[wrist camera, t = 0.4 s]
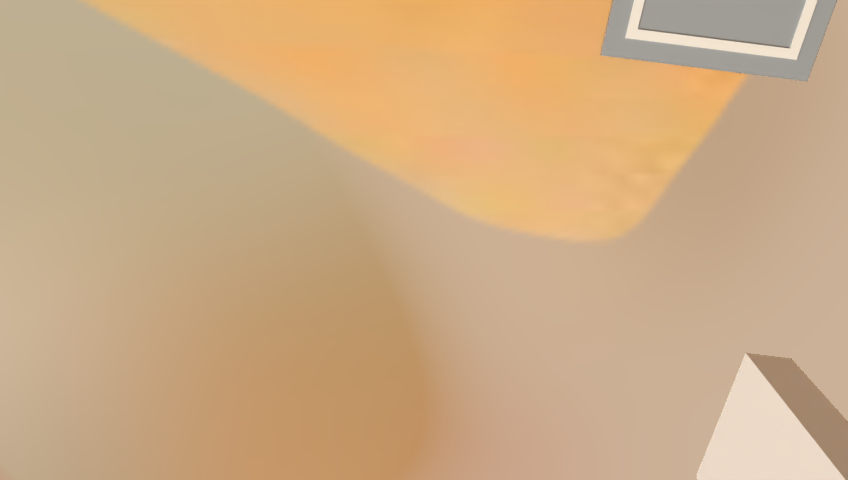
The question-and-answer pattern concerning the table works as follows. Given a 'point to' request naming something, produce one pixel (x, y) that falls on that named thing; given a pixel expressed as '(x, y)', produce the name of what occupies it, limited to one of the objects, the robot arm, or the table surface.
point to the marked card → (721, 34)
